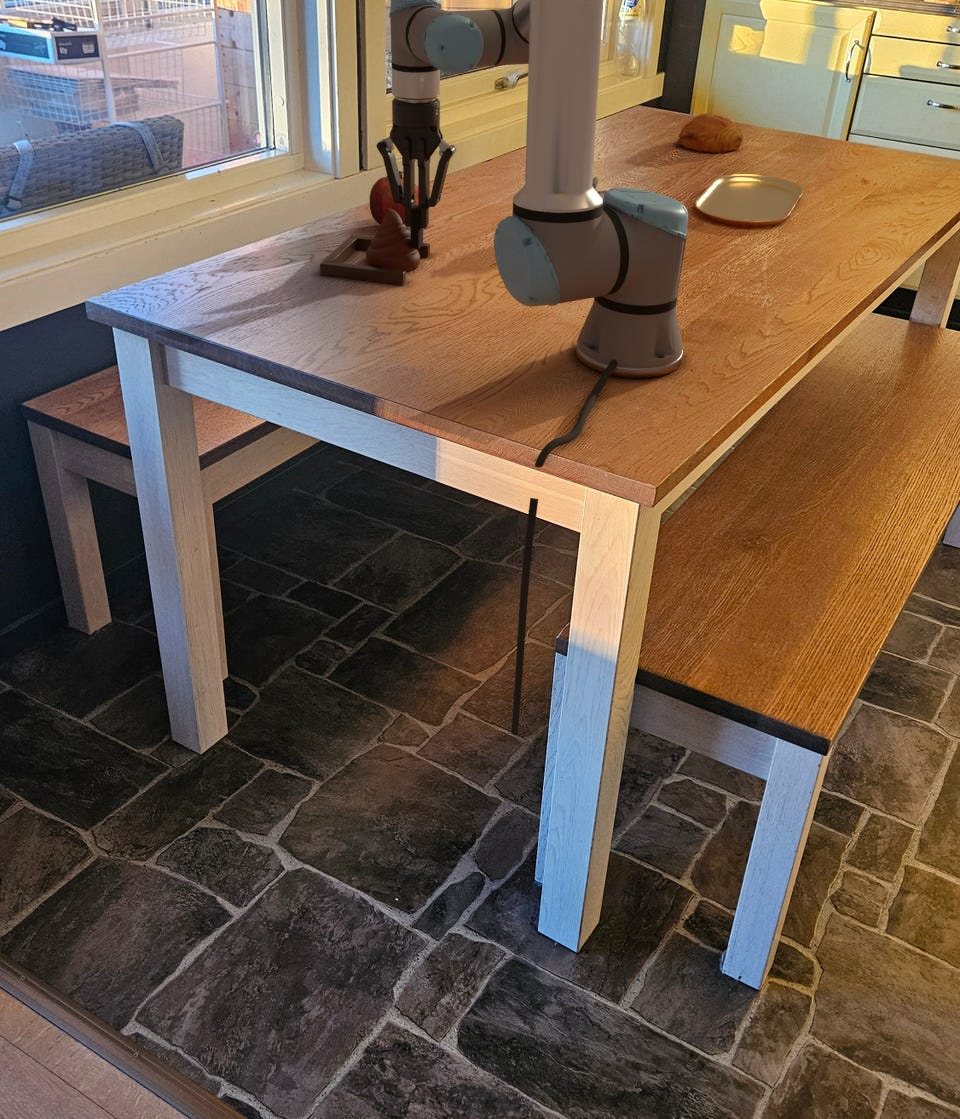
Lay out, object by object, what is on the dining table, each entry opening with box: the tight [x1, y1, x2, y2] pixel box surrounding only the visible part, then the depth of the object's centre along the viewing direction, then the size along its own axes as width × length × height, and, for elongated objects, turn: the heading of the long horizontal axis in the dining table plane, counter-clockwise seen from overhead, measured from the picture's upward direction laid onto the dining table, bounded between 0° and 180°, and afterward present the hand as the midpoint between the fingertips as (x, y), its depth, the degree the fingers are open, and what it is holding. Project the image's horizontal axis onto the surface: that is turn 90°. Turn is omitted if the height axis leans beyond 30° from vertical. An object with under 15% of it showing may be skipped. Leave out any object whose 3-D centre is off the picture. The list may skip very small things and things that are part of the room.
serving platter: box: [694, 173, 804, 228], centre depth 223 cm, size 19×35×2 cm, turn 157°
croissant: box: [677, 112, 743, 154], centre depth 261 cm, size 14×16×8 cm
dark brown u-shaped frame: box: [319, 234, 431, 286], centre depth 186 cm, size 16×14×2 cm
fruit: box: [368, 170, 418, 226], centre depth 201 cm, size 11×10×10 cm
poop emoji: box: [365, 208, 421, 272], centre depth 184 cm, size 10×8×9 cm
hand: (416, 246), depth 183 cm, fingers closed
